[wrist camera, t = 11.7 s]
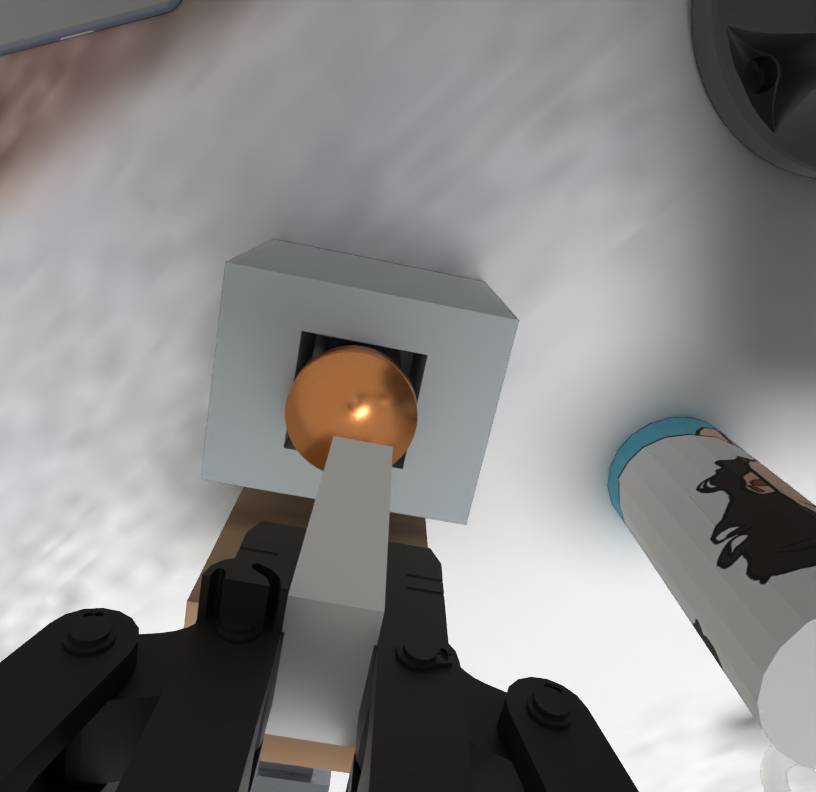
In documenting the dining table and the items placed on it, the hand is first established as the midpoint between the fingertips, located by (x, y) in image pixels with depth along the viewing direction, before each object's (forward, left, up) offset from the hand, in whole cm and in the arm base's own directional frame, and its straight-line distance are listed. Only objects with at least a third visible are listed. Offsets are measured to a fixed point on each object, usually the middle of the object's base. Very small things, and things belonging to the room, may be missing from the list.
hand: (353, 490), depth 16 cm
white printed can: (+4, +17, -16) cm, 24 cm away
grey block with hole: (0, 0, -16) cm, 16 cm away
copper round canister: (0, 0, -13) cm, 13 cm away
